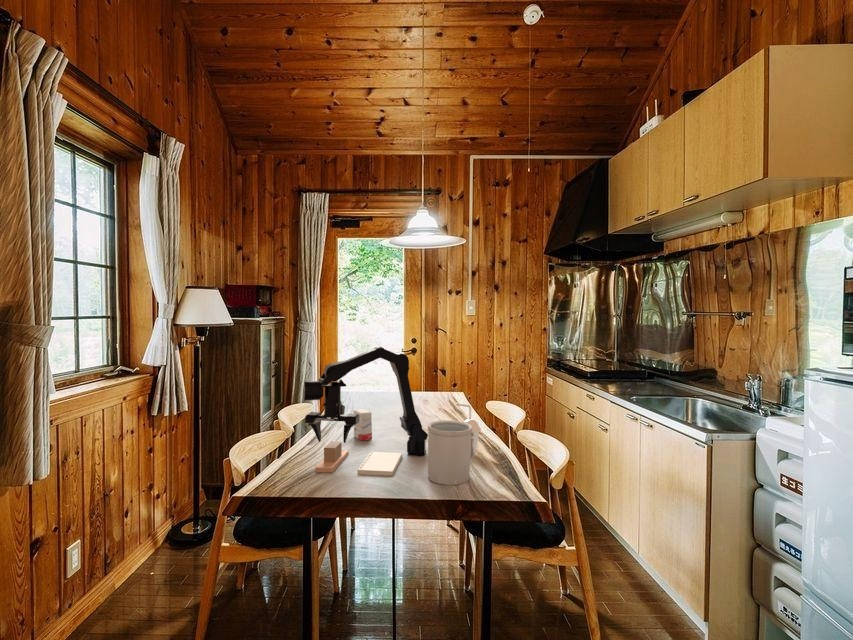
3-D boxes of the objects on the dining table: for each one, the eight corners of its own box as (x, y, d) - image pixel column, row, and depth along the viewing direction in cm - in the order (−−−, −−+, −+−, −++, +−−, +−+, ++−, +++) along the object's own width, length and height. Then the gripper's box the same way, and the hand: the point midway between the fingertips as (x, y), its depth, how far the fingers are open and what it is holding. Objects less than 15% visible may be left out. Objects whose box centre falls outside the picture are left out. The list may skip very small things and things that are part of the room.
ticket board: (402, 457, 176) (402, 452, 176) (392, 475, 156) (392, 471, 156) (370, 455, 177) (370, 451, 177) (357, 474, 157) (357, 469, 157)
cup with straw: (478, 459, 174) (479, 406, 173) (454, 457, 177) (455, 404, 176) (482, 452, 182) (483, 401, 182) (459, 450, 185) (460, 400, 184)
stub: (348, 454, 178) (348, 437, 178) (332, 472, 158) (332, 453, 158) (333, 453, 179) (333, 436, 179) (315, 471, 159) (315, 452, 159)
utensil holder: (474, 472, 161) (474, 421, 160) (468, 488, 146) (469, 432, 146) (432, 468, 164) (433, 418, 164) (422, 483, 150) (423, 429, 149)
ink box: (372, 439, 199) (372, 412, 199) (361, 441, 196) (361, 413, 196) (363, 435, 206) (363, 408, 206) (352, 436, 203) (353, 409, 203)
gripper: (363, 395, 175) (363, 437, 175) (315, 394, 177) (314, 435, 177) (355, 401, 164) (355, 445, 164) (304, 399, 166) (304, 443, 166)
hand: (332, 442), depth 168 cm, fingers open, 9 cm apart
